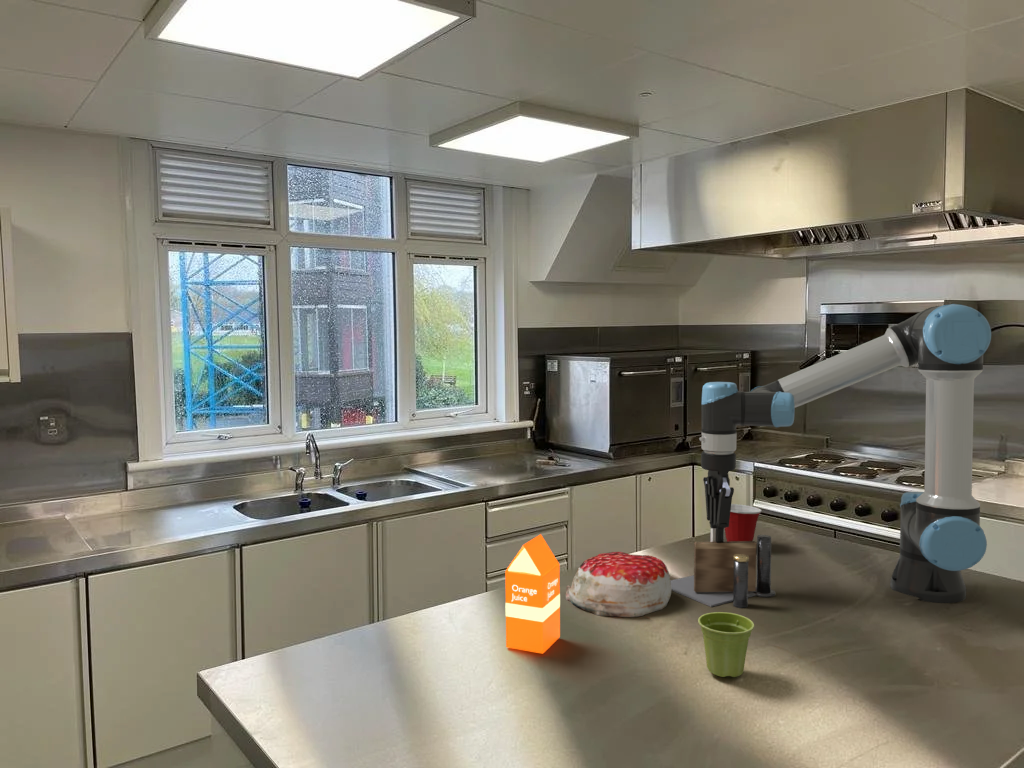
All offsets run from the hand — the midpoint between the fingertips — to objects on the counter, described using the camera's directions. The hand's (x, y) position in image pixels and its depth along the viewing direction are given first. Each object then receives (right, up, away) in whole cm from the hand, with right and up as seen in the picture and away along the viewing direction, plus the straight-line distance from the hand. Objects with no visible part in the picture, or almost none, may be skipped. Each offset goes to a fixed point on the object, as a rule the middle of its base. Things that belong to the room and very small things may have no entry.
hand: (717, 555), depth 174 cm
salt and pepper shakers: (+7, -9, -4) cm, 12 cm away
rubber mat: (-1, -8, +3) cm, 9 cm away
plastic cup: (+15, -6, +33) cm, 37 cm away
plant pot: (-9, -12, -39) cm, 42 cm away
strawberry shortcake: (-23, -9, -2) cm, 24 cm away
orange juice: (-42, -11, -26) cm, 51 cm away
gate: (+1, -8, -1) cm, 8 cm away
